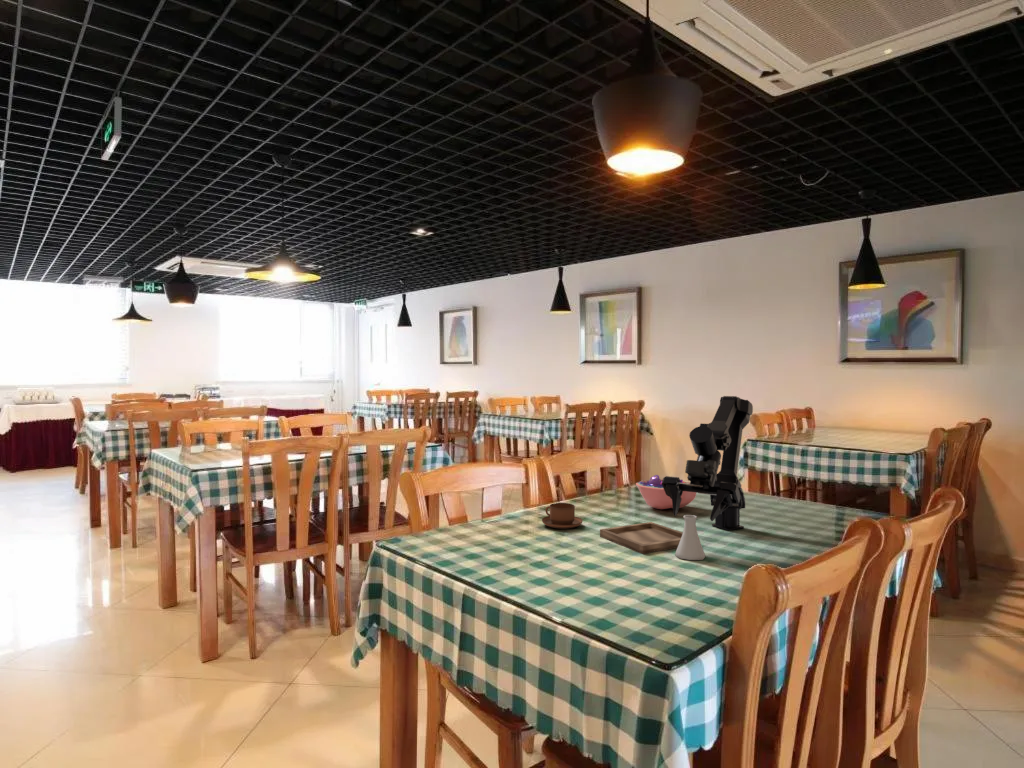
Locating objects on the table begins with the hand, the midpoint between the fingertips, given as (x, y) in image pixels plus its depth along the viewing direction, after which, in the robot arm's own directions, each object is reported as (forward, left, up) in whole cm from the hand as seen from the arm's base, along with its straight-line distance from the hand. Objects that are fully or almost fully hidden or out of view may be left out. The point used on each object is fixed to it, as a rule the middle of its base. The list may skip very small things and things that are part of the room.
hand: (692, 517), depth 149 cm
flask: (+2, +1, -10) cm, 10 cm away
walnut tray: (+2, -15, -9) cm, 18 cm away
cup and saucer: (+13, -39, -10) cm, 43 cm away
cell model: (-29, -42, -10) cm, 52 cm away
